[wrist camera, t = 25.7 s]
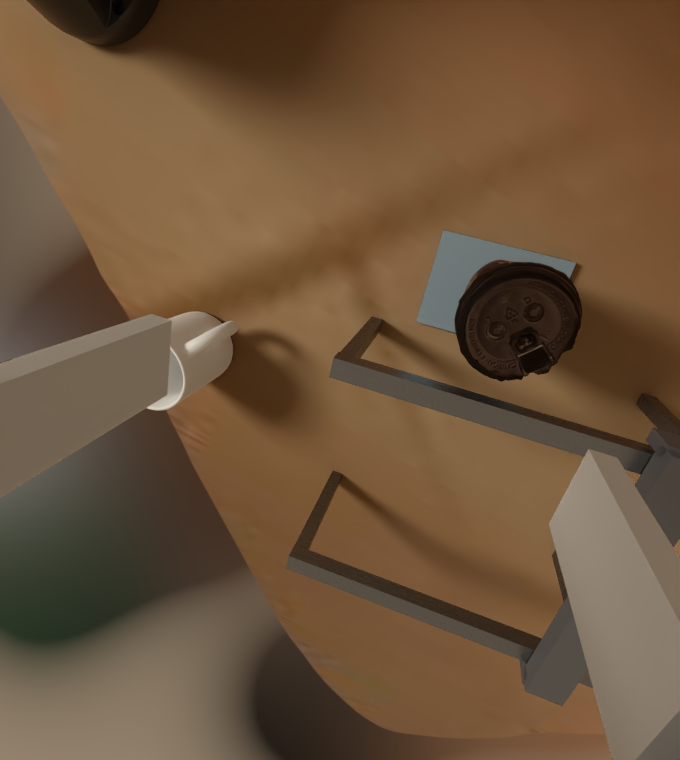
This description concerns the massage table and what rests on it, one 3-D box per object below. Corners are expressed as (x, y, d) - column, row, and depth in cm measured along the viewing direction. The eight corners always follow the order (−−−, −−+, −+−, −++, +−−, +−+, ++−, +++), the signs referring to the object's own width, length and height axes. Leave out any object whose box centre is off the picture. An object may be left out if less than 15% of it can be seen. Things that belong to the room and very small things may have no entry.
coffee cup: (532, 347, 42) (562, 401, 31) (446, 332, 44) (442, 378, 32) (560, 254, 39) (606, 275, 27) (465, 242, 40) (469, 256, 29)
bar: (519, 655, 39) (525, 708, 35) (653, 427, 30) (683, 462, 26) (553, 669, 39) (563, 723, 35) (700, 441, 29) (739, 479, 25)
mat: (416, 320, 45) (416, 321, 44) (443, 230, 41) (443, 230, 41) (535, 353, 43) (536, 355, 42) (574, 262, 39) (576, 262, 39)
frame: (330, 479, 55) (286, 568, 41) (372, 314, 46) (333, 357, 32) (562, 561, 50) (598, 690, 37) (656, 395, 41) (750, 484, 28)
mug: (236, 283, 49) (182, 299, 39) (273, 348, 50) (229, 379, 41) (161, 327, 53) (97, 352, 44) (197, 386, 55) (142, 421, 46)
